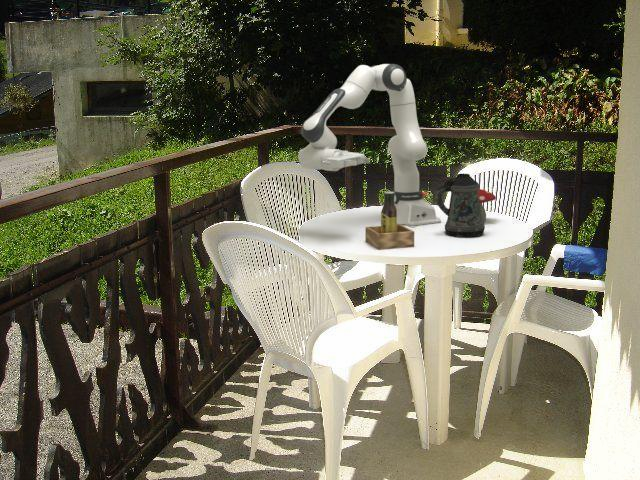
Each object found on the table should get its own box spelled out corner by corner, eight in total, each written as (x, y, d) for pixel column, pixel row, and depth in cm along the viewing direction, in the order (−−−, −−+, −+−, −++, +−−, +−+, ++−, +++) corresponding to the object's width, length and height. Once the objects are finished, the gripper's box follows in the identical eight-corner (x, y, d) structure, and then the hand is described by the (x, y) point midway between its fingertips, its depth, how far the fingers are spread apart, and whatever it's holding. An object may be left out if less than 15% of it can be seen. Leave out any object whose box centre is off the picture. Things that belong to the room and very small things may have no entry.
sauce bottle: (379, 240, 311) (379, 190, 306) (395, 239, 311) (395, 190, 307) (382, 243, 304) (382, 193, 300) (398, 243, 305) (398, 193, 300)
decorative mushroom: (467, 226, 340) (468, 192, 336) (453, 219, 355) (454, 186, 351) (501, 223, 343) (502, 190, 340) (486, 217, 358) (487, 185, 355)
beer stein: (492, 235, 321) (494, 175, 315) (454, 240, 312) (455, 178, 307) (468, 228, 335) (469, 170, 330) (430, 233, 327) (431, 174, 321)
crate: (400, 238, 317) (400, 224, 316) (414, 246, 303) (414, 231, 301) (365, 241, 313) (365, 226, 312) (377, 249, 299) (377, 234, 298)
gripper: (319, 154, 306) (348, 156, 298) (346, 149, 323) (375, 151, 315) (319, 170, 307) (349, 172, 300) (346, 165, 324) (375, 166, 316)
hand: (362, 161), depth 308 cm, fingers open, 8 cm apart
